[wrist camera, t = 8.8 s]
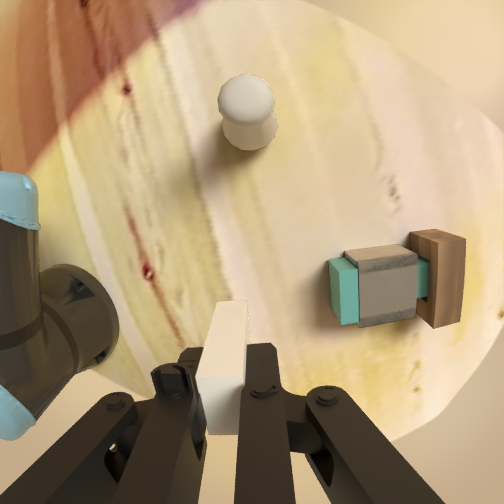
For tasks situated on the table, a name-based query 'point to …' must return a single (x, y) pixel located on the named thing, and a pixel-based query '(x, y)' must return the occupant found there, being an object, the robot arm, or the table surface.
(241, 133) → the salt shaker
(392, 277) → the sleeve
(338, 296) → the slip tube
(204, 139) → the table surface
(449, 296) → the socket block
